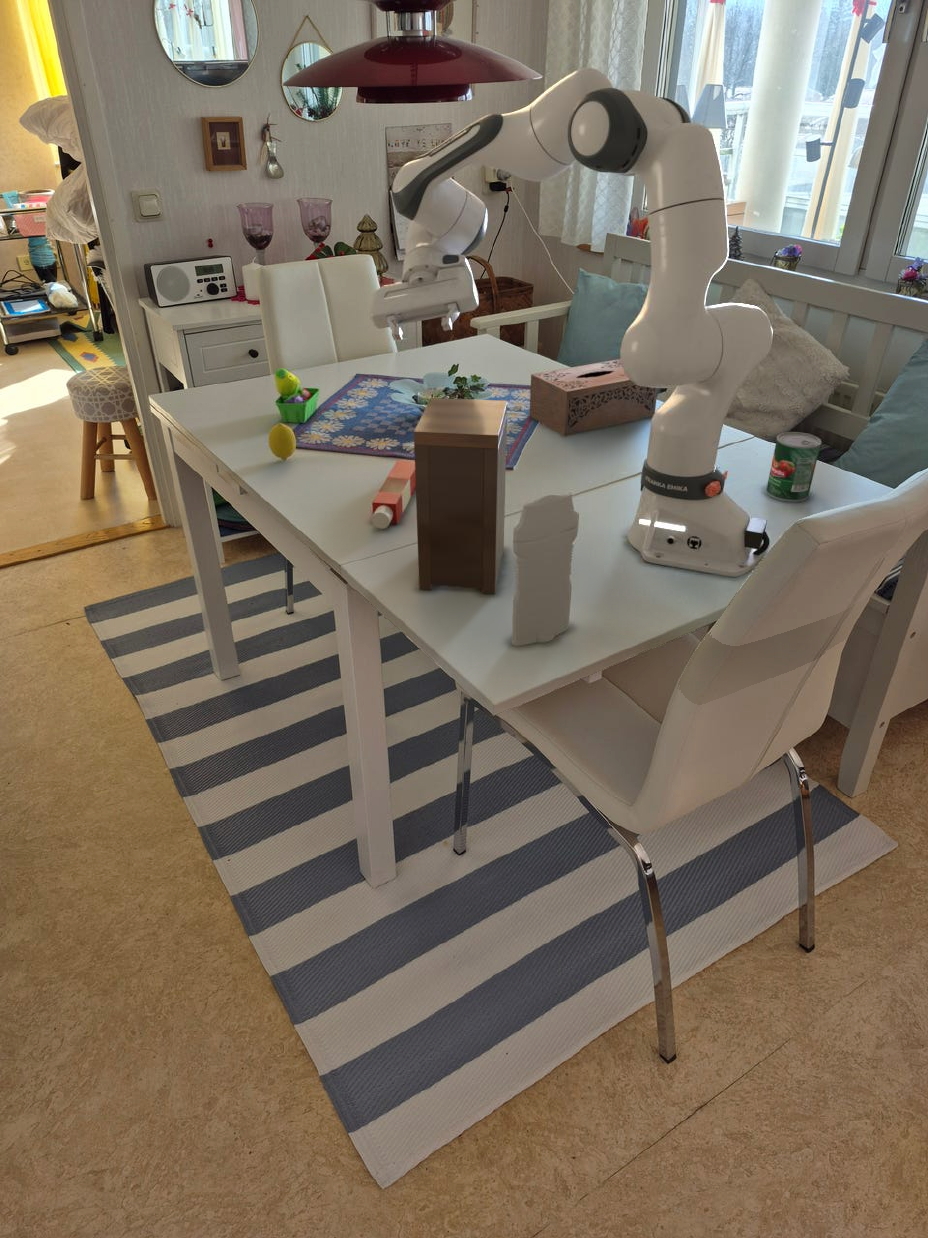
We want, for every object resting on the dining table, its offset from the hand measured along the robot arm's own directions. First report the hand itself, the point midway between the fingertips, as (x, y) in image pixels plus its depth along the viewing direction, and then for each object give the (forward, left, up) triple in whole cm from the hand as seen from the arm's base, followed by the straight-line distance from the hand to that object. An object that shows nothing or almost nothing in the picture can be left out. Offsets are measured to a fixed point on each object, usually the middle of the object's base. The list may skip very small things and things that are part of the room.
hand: (421, 332), depth 154 cm
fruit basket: (+48, -17, -30) cm, 59 cm away
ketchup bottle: (0, +10, -29) cm, 31 cm away
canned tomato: (-62, -34, -30) cm, 76 cm away
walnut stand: (-25, +25, -29) cm, 46 cm away
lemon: (+32, +5, -30) cm, 44 cm away
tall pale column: (-45, +35, -30) cm, 64 cm away
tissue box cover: (-11, -53, -30) cm, 62 cm away
